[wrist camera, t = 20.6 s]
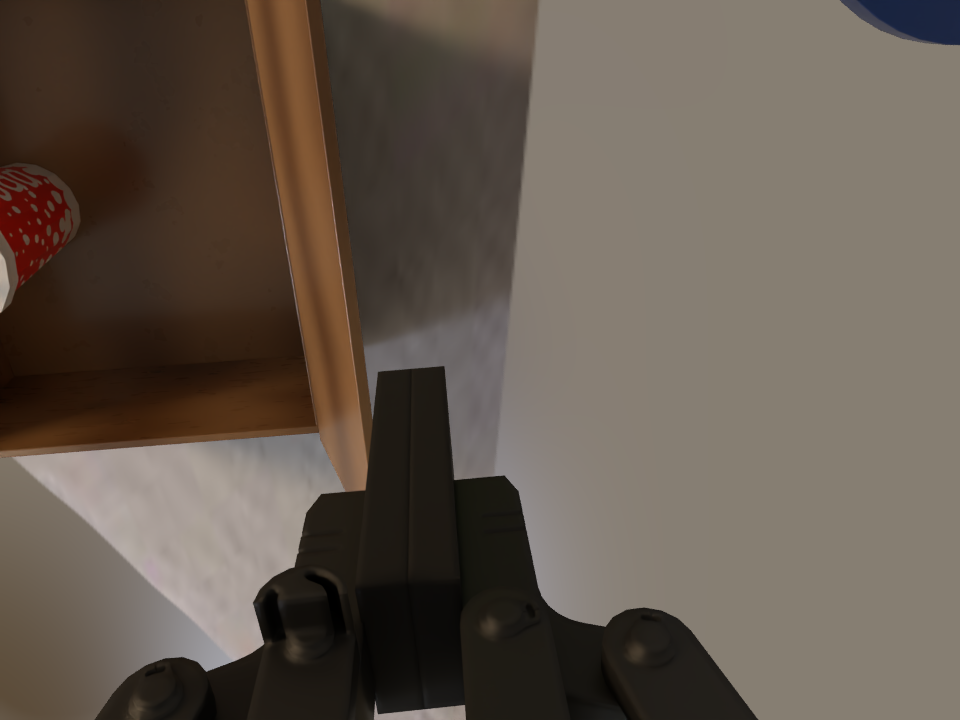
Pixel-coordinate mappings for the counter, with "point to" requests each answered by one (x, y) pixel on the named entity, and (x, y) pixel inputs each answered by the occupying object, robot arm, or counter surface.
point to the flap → (316, 224)
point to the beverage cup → (31, 223)
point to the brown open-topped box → (148, 232)
